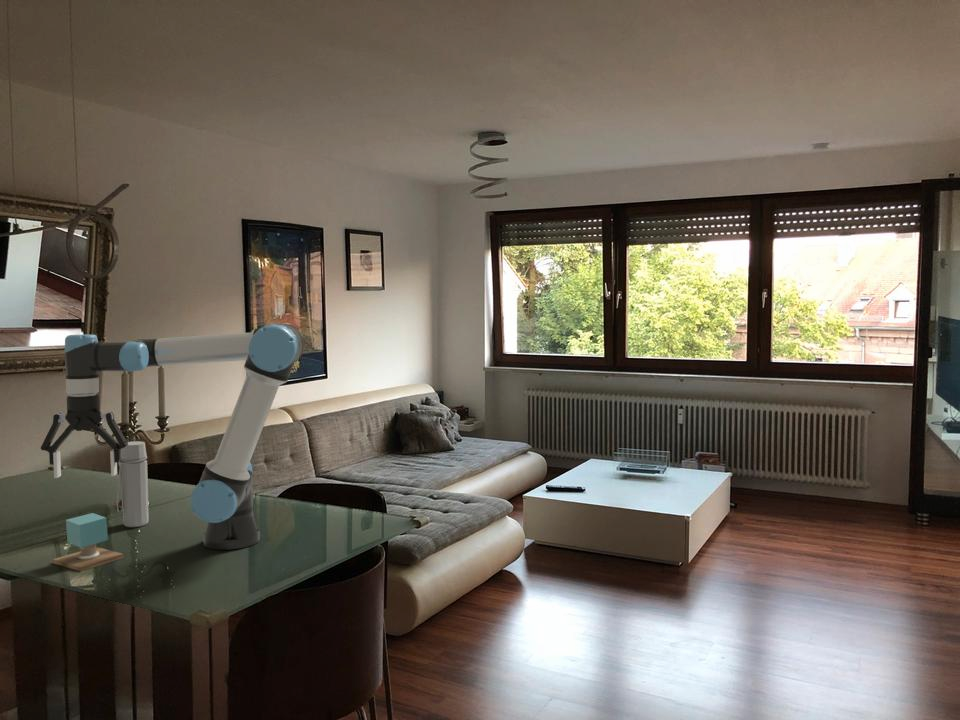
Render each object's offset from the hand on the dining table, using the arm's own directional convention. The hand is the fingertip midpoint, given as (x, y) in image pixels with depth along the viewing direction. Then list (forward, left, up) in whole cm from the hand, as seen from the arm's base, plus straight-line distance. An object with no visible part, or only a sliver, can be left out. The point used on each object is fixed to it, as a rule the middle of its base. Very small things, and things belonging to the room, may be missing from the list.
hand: (86, 476), depth 197 cm
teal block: (0, 0, -17) cm, 17 cm away
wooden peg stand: (0, 0, -22) cm, 22 cm away
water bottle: (+18, -26, -23) cm, 39 cm away
